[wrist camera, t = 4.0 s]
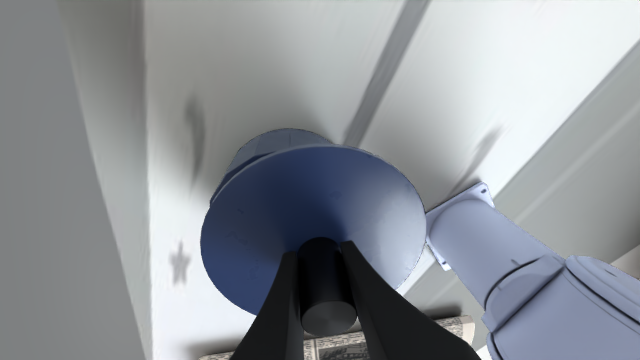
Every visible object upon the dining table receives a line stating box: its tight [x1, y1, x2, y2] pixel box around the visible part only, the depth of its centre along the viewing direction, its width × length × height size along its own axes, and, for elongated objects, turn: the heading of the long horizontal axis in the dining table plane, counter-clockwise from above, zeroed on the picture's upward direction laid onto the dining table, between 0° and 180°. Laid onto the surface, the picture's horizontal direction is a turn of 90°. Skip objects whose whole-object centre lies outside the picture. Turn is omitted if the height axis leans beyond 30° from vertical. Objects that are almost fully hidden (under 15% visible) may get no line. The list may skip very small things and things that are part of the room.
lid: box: [200, 144, 427, 337], centre depth 12 cm, size 12×12×5 cm
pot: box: [210, 129, 332, 206], centre depth 20 cm, size 11×11×6 cm
